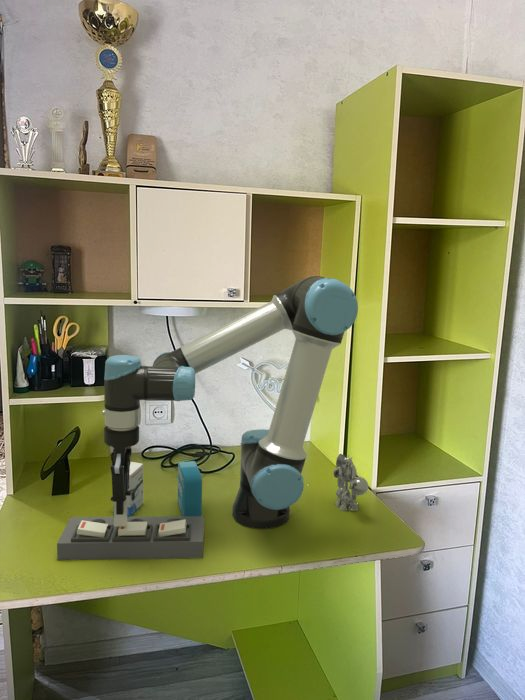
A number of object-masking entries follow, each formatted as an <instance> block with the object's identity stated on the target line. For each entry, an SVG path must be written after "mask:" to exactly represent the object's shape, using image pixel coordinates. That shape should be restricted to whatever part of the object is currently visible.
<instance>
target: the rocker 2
mask: <svg viewBox="0 0 525 700" xmlns="http://www.w3.org/2000/svg"><path fill="white" fill-rule="evenodd" d="M186 525H187V524H186V519H184V520H178V521H173V522H167V523H161V524H160V527H159V532H158V533H159V537H163V536H169V535H175V534H181V533H186Z"/></svg>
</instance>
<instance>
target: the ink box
mask: <svg viewBox="0 0 525 700" xmlns="http://www.w3.org/2000/svg"><path fill="white" fill-rule="evenodd" d="M128 492H131V496H126V497H128V500H127V517H133V515H134V513H136V512H137V510H138V509H139V508H140V507H141V506H142V505H144V504H143V503H144V463H141V462H135V461H130V472H129V489H128Z"/></svg>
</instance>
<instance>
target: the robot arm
mask: <svg viewBox="0 0 525 700" xmlns="http://www.w3.org/2000/svg"><path fill="white" fill-rule="evenodd" d="M358 305H359V304H358V299H357V296H356V294H355V292H354V291H353V290H352V288H351V287H350V286H348V285H347V284H346V283H344V282H342V281H341V280H338V279H336V278H330V277H324V276H318V275H314V276H308V277H305V278H303V279H301V280H299V281H298V282H296V283H294V284H292V285H290V286H288V287H287V288H285V289H283V290H281V291H280V292H278V293H276V294H274V295H273V296H272V299H271V301H269V302H267V303H265V304H264V305H261V306H259V307H258V308H256V309H253V310H252V311H250V312H247V313H246V314H244V315H241V316H240V317H237V318H236V319H234V320H232V321H230V322H228V323H226V324H224V325H221V326H219V327H218V328H216V329H214V330H212V331H210V332H208V333H206V334H204V335H202V336H199V337H198V338H196V339H194V340H192V341H190V342H188V343H186V344H184V345H183V346H180V347H179V348H176V349H174V350H172V351H168V352H167V351H166V352H163V353H159V355H158V356H157V357H156V358H155V359H154V360H153V363H152V365H150V366H149V365H142V362H141V358H140V357H139V356H136V355H129V354H117V355H112V356H109V357H108V358H107V359H106V360H105V365H104V378H103V379H104V381H103V383H104V384H103V387H104V405H103V407H104V410H102V411H101V415H103V416H104V426H105V427H104V428H103V431H104V432H103V433H104V434H103V442H104V444H105V445H106V446H108V447H112V452H111V455H110V460H111V465H110V472H111V473H110V474H111V487H112V488H111V490H112V491H111V492H112V496H111V497H110V501H112V502H113V517H114V526H123V527H126V525H127V500H128V497H126V496H131V492H128V489H129V472H130V462H131V456H132V452H133V451H132V449H133V448H132V447H133V446H135V445H137V444H139V441H140V426H139V425H140V421H141V420H140V418H141V406H140V404H141V402H140V401H167V402H169V401H171V402H180V401H192V400H193V399H194V398H195V394H196V375H197V374H198V373H201V372H202V371H204V370H206V369H208V368H210V367H212V366H215V365H216V364H218V363H220V362H222V361H224V360H226V359H228V358H229V357H233V356H234V355H236V354H238V353H239V352H242V351H244V350H245V349H248V348H249V347H252V346H254V345H256V344H258V343H259V342H261V341H263V340H265V339H267V338H269V337H271V336H274V335H275V334H277V333H279V332H281V331H283V330H288V331H292V334H293V335H294V338H295V340H294V344H293V347H292V351H291V353H290V354H291V355H290V359H289V362H288V364H287V367H286V372H285V374H284V379H283V382H282V385H281V389H280V390H279V391H280V392H279V395H278V399H277V402H276V405H275V409H274V413H273V415H272V418H271V419H272V420H271V422H270V426H269V429H264V428H262V429H251V430H247V431H245V432H244V433H243V434H242V435H241V440H240V447H241V448H240V472H239V473H240V474H239V481H240V482H239V488H238V490H237V493H236V496H235V499H234V502H233V505H232V517H233V519H234V520H235V521H236V522H237V523H238V524H239V525H241V526H244V527H246V528H247V527H248V528H252V529H259V530H262V529H263V530H264V529H265V530H267V529H273V528H278V527H280V526H281V527H282V526H283V525H285V524H286V523H287V522H288V521H289V519H290V515H291V513H290V511H291V510H290V507H291V506H293V505H294V504H296V503H297V501H299V499H300V498H301V497H302V495H303V491H304V488H305V487H304V485H305V484H304V478H303V475H302V473H303V469H304V466H305V462H306V459H307V456H308V455H307V453H306V451H305V449H304V443H305V440H306V437H307V432H308V431H309V427H310V423H311V420H312V417H313V414H314V411H315V406H316V403H317V400H318V397H319V394H320V389H321V387H322V384H323V381H324V378H325V374H326V371H327V368H328V364H329V361H330V359H331V355H332V351H333V349H335V348H337V347H338V346H340V345H341V344H342V341H343V339H344V336H345V332H346V331H347V330H349V329H350V328H351V327H352V326H353V325H354V323H355V321H356V319H357V317H358V316H357V315H358V312H359V306H358Z"/></svg>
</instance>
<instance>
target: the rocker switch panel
mask: <svg viewBox="0 0 525 700" xmlns="http://www.w3.org/2000/svg"><path fill="white" fill-rule="evenodd" d="M184 519H186V524H187V525H186V533H181V534H175V535H169V536H163V537H159V533H158V532H159V527H160V524H161V523H167V522H173V521H178V520H184ZM204 519H205V517H204V515H202V516H181V515H179V516H176V515H175V516H174V515H172V516H170V515H169V516H168V515H167V516H131V517H127V522H147V530H146V534H145V535H124V536H118V529H119V526H114V516H90V517H89V516H73V517H70V518H69V519H68V522H67V523H66V525H65V527H64V529H63V531H62V533H61V535H60V537H59V539H58V541H57V543H56V552H57V553H56V556H57V557H56V558H57V561H79V560H80V561H81V560H82V561H83V560H84V561H85V560H87V561H88V560H89V561H90V560H95V561H96V560H145V559H147V560H149V559H150V560H152V559H156V560H157V559H158V560H159V559H202V558H203V557H204V555H203V554H204V531H205V530H204V529H205V527H204V526H205V525H204V524H205V523H204V521H205V520H204ZM82 520H84V521H91V522H97V523H104V524H108V527H107V531H106V534H105V536H104V537H103V538H102V537H95V536H88V535H81V534H77V529H78V527H79V525H80V523H81V521H82Z"/></svg>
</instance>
